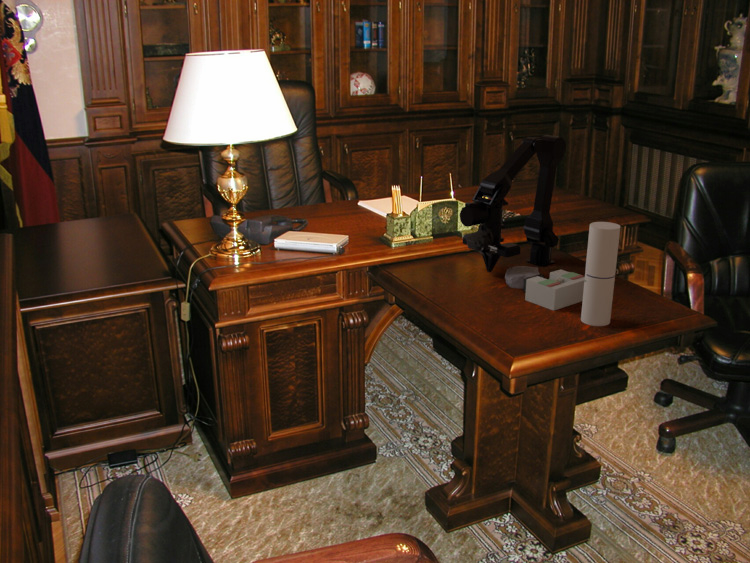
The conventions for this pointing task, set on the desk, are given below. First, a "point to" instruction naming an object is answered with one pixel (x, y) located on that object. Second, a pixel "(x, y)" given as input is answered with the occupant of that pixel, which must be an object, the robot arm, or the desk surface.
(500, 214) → the robot arm
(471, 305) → the desk surface
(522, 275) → the stone block
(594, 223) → the cylindrical container
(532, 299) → the block
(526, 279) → the black rectangular block
